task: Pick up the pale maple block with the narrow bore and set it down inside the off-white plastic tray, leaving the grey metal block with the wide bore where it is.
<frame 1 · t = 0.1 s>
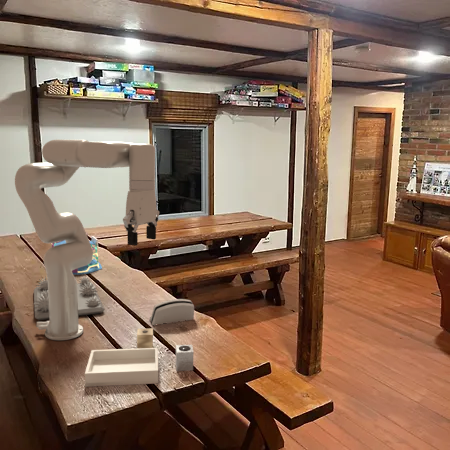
hand: (142, 241, 138), 37 cm above the table, tool pointing down, fingers open, 9 cm apart
sorting tray: (123, 372, 134), on the table
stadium: (75, 266, 240), on the table
grey block: (184, 366, 139), on the table
grey rounded slab: (172, 322, 172), on the table
decorative tray: (66, 304, 187), on the table
maple block: (145, 348, 149), on the table
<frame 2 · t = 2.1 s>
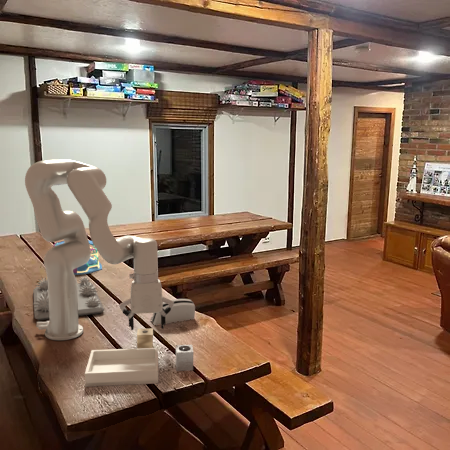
hand: (147, 327, 148), 7 cm above the table, tool pointing down, fingers open, 9 cm apart
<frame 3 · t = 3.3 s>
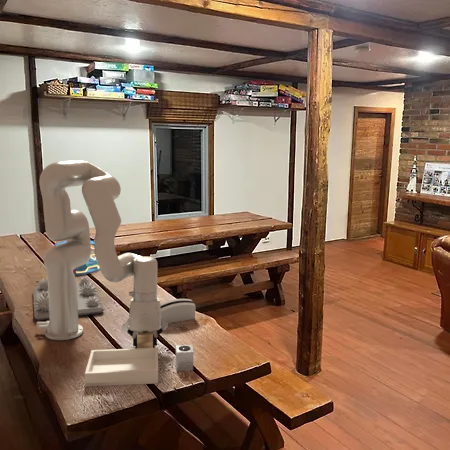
hand: (145, 347, 149), 0 cm above the table, tool pointing down, fingers closed on maple block, 5 cm apart
maple block: (145, 348, 149), on the table, touching gripper
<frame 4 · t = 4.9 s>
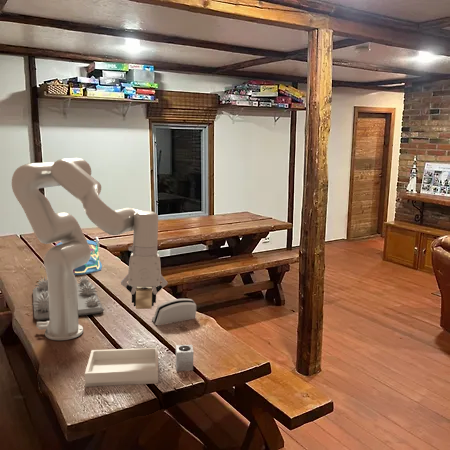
hand: (143, 304, 147), 15 cm above the table, tool pointing down, fingers closed on maple block, 5 cm apart
maple block: (143, 305, 147), point 15 cm above the table, touching gripper
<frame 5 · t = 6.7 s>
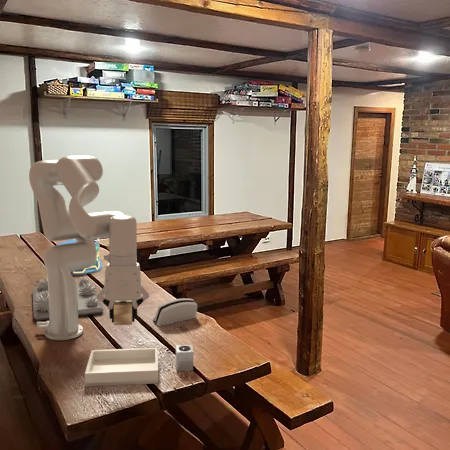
hand: (123, 319, 131), 16 cm above the table, tool pointing down, fingers closed on maple block, 5 cm apart
maple block: (123, 321, 131), point 16 cm above the table, touching gripper
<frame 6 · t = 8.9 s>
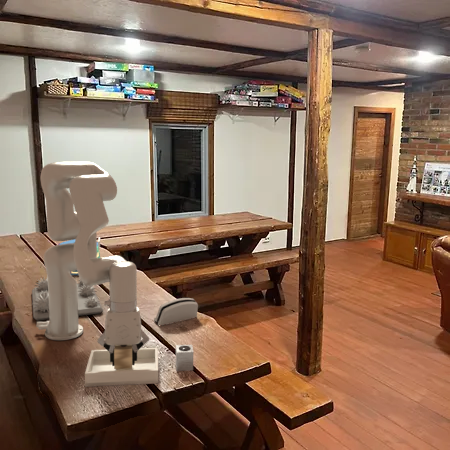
hand: (123, 362, 133), 3 cm above the table, tool pointing down, fingers closed on maple block, 5 cm apart
maple block: (123, 364, 133), point 3 cm above the table, touching gripper
when the fingers open (2 cm above the table, at t = 9.5 s): maple block stays where it is, resting on sorting tray.
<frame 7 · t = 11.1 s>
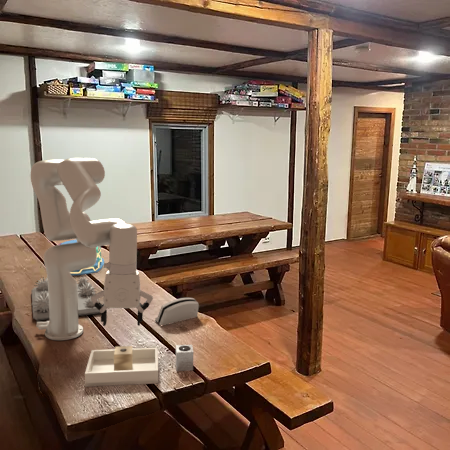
hand: (121, 323, 132), 15 cm above the table, tool pointing down, fingers open, 9 cm apart
maple block: (123, 369, 134), point 1 cm above the table, touching sorting tray
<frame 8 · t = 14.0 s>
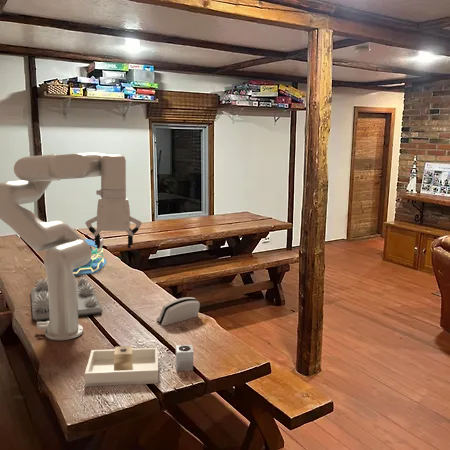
hand: (114, 247, 145), 33 cm above the table, tool pointing down, fingers open, 9 cm apart
at the end: maple block inside the target area on the sorting tray (0.0 cm from its centre), point 1.0 cm above the sorting tray's base; maple block tilted 0°; the gripper is holding nothing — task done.
